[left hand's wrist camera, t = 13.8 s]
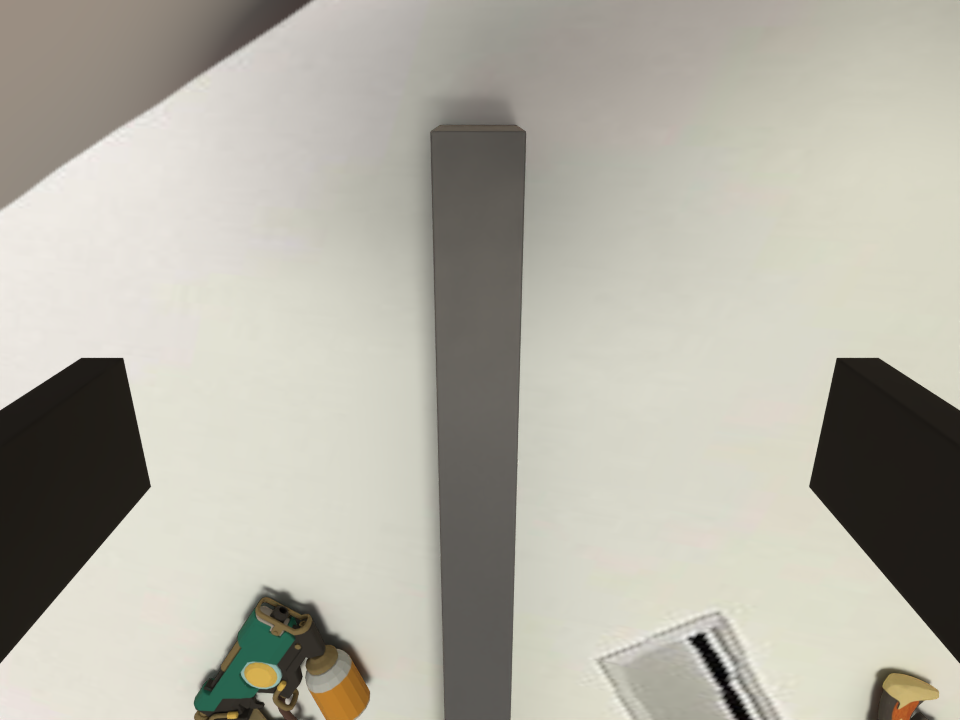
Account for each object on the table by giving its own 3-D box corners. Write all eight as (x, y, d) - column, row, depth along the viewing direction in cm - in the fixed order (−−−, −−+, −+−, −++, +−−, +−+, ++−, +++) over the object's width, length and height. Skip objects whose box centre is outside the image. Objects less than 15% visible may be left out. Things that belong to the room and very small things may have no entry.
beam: (439, 125, 42) (430, 131, 34) (517, 125, 42) (526, 131, 34) (454, 897, 71) (451, 997, 64) (500, 897, 71) (503, 997, 64)
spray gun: (282, 754, 64) (163, 662, 60) (405, 678, 59) (283, 573, 55) (266, 798, 60) (138, 702, 56) (396, 720, 55) (264, 610, 51)
